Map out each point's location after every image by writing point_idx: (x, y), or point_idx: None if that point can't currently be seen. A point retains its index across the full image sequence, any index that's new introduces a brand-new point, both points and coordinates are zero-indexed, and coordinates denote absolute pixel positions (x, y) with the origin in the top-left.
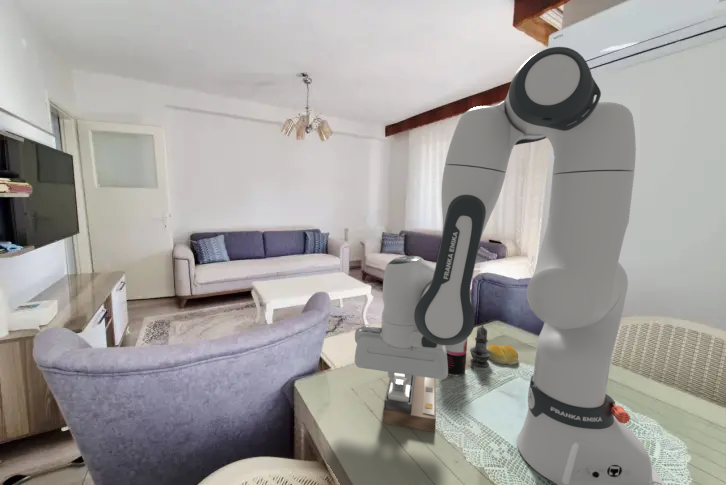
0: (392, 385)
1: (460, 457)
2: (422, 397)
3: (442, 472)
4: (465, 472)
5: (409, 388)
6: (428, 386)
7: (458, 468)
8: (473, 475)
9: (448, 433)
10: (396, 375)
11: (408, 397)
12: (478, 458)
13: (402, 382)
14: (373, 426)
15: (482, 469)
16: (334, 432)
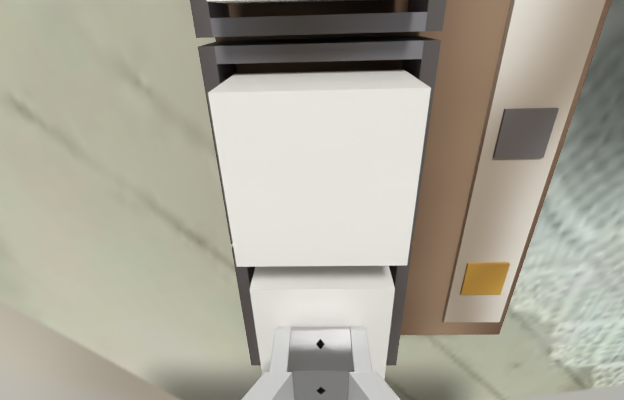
0: (268, 317)
1: (534, 353)
2: (458, 212)
3: (464, 395)
4: (530, 386)
5: (388, 321)
6: (528, 90)
7: (514, 380)
8: (549, 389)
9: (527, 281)
10: (275, 264)
11: (382, 377)
12: (594, 346)
13: (343, 392)
14: (237, 308)
15: (586, 372)
16: (125, 351)
